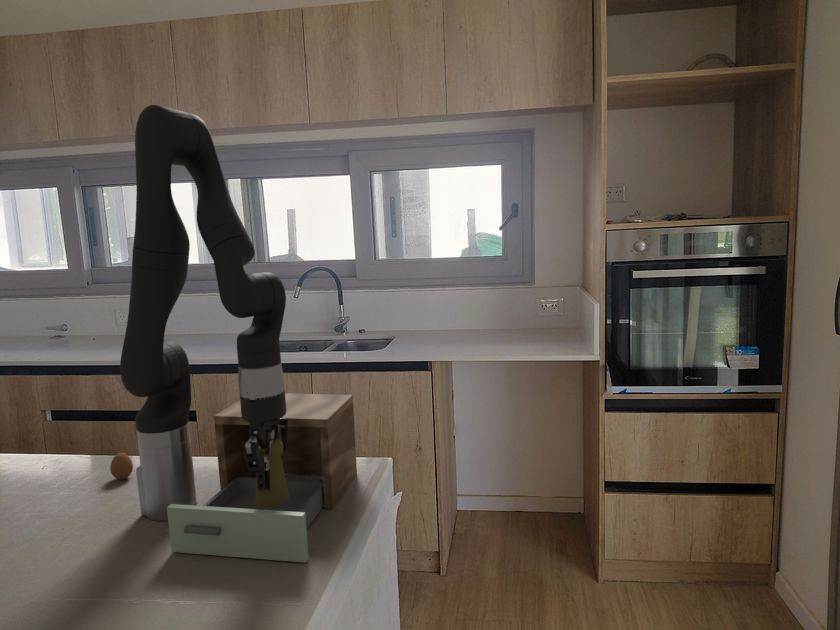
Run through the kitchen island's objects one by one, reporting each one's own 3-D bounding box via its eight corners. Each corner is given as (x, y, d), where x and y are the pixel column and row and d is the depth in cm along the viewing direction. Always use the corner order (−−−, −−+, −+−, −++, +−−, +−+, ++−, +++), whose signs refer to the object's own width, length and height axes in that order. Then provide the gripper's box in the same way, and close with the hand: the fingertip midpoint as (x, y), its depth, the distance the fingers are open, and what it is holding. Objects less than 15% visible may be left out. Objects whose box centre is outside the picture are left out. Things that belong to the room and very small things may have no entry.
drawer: (166, 556, 97) (161, 511, 96) (233, 494, 119) (230, 457, 118) (302, 567, 93) (299, 520, 92) (346, 501, 115) (344, 462, 114)
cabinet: (221, 502, 117) (213, 415, 114) (258, 469, 132) (252, 392, 129) (332, 509, 112) (327, 419, 109) (356, 474, 128) (352, 394, 125)
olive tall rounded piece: (281, 508, 100) (276, 446, 98) (248, 506, 101) (242, 445, 99) (295, 492, 105) (290, 433, 104) (264, 490, 107) (259, 432, 105)
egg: (128, 482, 128) (124, 456, 127) (107, 483, 128) (104, 457, 127) (137, 474, 132) (135, 448, 131) (118, 474, 132) (115, 449, 131)
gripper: (260, 378, 108) (267, 467, 110) (220, 402, 94) (230, 502, 96) (298, 379, 106) (305, 468, 109) (264, 402, 92) (273, 504, 95)
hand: (270, 484), depth 103 cm, fingers closed on olive tall rounded piece, 4 cm apart
